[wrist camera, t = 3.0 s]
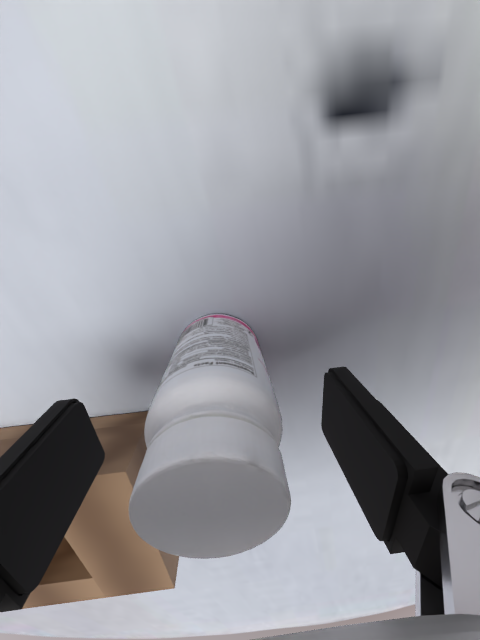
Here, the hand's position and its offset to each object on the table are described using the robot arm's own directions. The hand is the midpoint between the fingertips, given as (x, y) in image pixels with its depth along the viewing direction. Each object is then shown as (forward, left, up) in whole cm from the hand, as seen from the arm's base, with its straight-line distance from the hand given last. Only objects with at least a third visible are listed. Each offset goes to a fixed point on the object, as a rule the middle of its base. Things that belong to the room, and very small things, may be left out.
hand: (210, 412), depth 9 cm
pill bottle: (0, 0, -5) cm, 5 cm away
